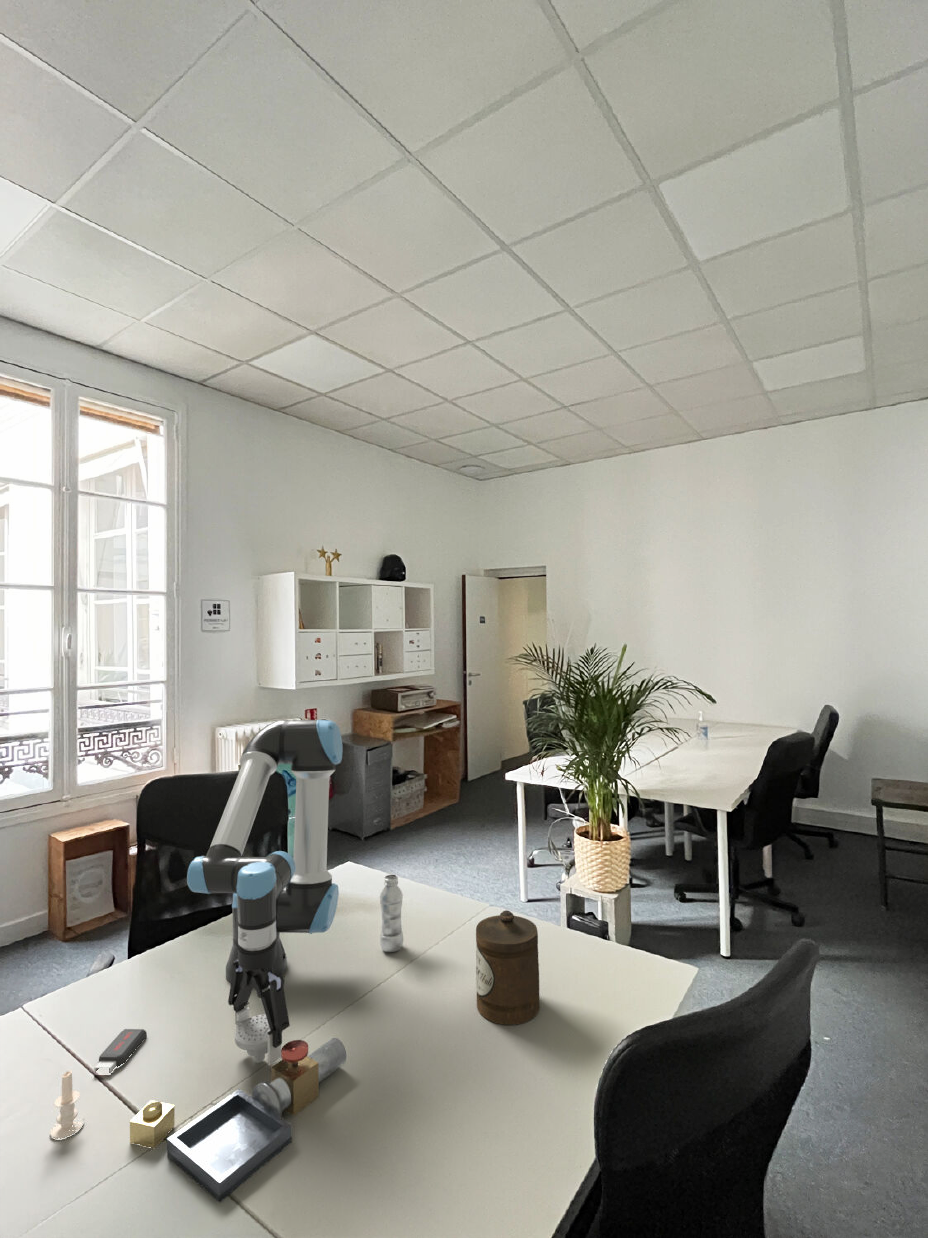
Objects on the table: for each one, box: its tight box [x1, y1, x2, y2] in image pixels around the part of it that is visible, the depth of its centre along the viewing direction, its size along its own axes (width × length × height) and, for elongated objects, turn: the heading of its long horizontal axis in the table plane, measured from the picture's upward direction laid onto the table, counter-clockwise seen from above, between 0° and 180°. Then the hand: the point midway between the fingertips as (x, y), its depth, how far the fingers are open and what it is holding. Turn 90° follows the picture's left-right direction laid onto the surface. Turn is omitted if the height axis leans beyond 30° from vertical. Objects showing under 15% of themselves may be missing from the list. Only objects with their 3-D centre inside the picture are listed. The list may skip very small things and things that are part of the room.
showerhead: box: [234, 1013, 270, 1063], centre depth 130 cm, size 9×7×10 cm
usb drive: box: [93, 1028, 148, 1074], centre depth 133 cm, size 5×12×3 cm, turn 178°
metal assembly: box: [166, 1037, 348, 1203], centre depth 116 cm, size 15×32×10 cm, turn 145°
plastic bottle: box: [379, 874, 404, 953], centre depth 175 cm, size 6×7×20 cm
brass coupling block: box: [129, 1100, 176, 1149], centre depth 112 cm, size 5×5×5 cm
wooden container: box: [475, 910, 541, 1026], centre depth 149 cm, size 15×15×22 cm
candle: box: [49, 1070, 82, 1139], centre depth 113 cm, size 5×5×10 cm
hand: (258, 1050), depth 130 cm, fingers closed on showerhead, 9 cm apart
